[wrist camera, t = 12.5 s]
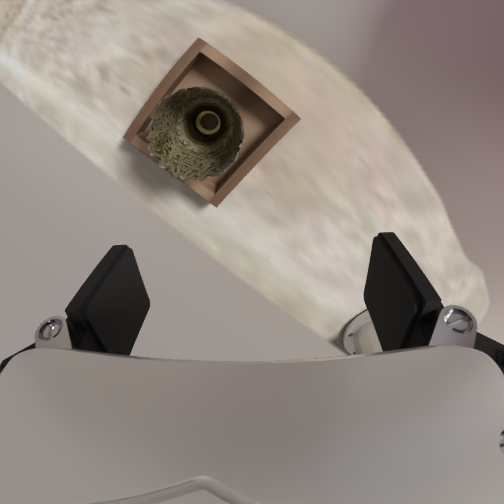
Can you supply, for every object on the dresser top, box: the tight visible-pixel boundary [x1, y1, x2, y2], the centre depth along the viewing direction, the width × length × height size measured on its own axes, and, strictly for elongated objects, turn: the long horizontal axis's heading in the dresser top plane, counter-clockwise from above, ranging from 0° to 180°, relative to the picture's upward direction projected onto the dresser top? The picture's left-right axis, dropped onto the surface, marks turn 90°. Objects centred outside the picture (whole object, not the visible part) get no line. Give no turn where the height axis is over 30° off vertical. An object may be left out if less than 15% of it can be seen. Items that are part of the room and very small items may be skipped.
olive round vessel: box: [146, 87, 244, 182], centre depth 22 cm, size 8×7×8 cm
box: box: [123, 38, 301, 208], centre depth 25 cm, size 12×12×3 cm
